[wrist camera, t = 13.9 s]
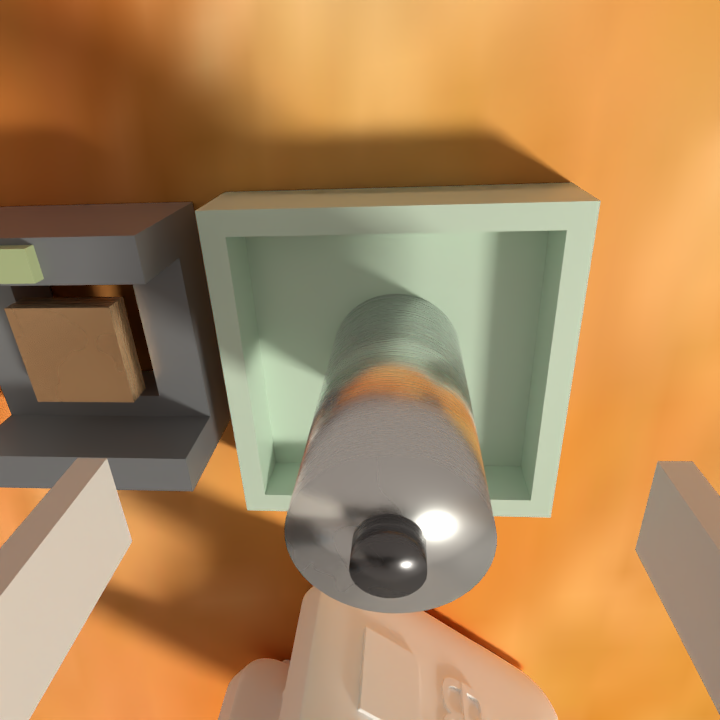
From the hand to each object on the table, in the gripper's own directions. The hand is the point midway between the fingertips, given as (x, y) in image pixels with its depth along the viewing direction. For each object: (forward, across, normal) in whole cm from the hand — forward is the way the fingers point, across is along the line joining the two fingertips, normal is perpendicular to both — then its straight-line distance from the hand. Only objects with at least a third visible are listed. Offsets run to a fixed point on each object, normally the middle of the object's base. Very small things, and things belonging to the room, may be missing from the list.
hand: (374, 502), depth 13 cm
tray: (+9, 0, 0) cm, 9 cm away
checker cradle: (+9, -10, +1) cm, 14 cm away
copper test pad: (+7, -11, +1) cm, 13 cm away
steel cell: (+8, 0, 0) cm, 8 cm away
